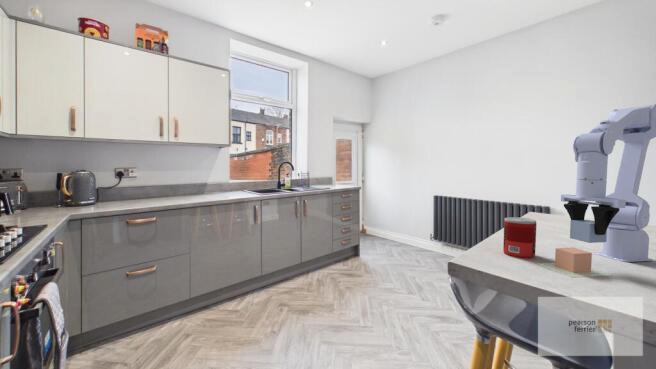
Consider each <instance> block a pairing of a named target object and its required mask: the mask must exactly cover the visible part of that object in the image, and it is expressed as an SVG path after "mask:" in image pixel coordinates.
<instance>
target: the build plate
mask: <svg viewBox="0 0 656 369" xmlns="http://www.w3.org/2000/svg"><path fill="white" fill-rule="evenodd" d="M536 264H537V265H539V266H541V267H544V268H547V269H549V270H552V271H554V272H557V273H560V274H563V275H565V276H568V277H570V278H586V277H587V278H590V277H605V276H612V274H611V273H607V272H606V271H605V272H604V271H603V270H602V271H601V270H598V269H596V268H593V267H591V272H581V273H572V272H569V271H567V270H564V269H561V268H559V267H556V266H555V262H541V263H540V262H539V263H536Z"/></svg>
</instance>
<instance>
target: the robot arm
mask: <svg viewBox="0 0 656 369" xmlns="http://www.w3.org/2000/svg"><path fill="white" fill-rule="evenodd" d="M655 138H656V103H652V104H649V105H643V106H642V105H641V106H635V107H627V108H620V109H617V108H615V109H613V110H611V111H610V113H609V115H608V119H607V120H601V121H600V122H599V123H598V124H597V125H596V126H595V127H593V128H592V129H591V130H590V131H589V132H587V133H581V134H579V135H577V136H576V137H575V139H574V140H573V144H572V146H573V147H572V148H573V153H574V160H575V162H576V163H577V164H576V165H577V167H576V182H575V183H576V186H575V187H576V188H575V194H564V193H563V194H560V202H566V203H563V207H564V208H565V210H566V211H567V214H568V216H569V218H570V221H571V220H585V216H586V212H587V210H588V208H589V205H593V206H590V209H591V211H592V214H593V215H592V216H593V219H594V220H593V221H595V226H594V230H595V235H605V233H606V230H607V240H606V242H602V251H601V252H600V251H598V252H597V251H594V252H593V255H597V256H600V257H604V258H608V259H610V260H615V261H618V262H623V263H632V262H633V263H635V262H651V261H653V259H652V258H649V248H650V247H649V246H650V245H649V244H650V238H649V234H648V233H647V232H646V230H644V229H645V228H647V226H648V224H649V223H650V208H651V207H650V204H649V202H648V201H647V200H646V199H644V198H642V197H641V196H640V195H638V194H639V190H640V185H641V179H642V175H643V171H644V166H645V160H646V156H647V150H648V148H649V145H650V142H651V140H653V139H655ZM616 141H620V142H623V149H622V153H621V157H620V158H621V159H620V162H619V168H618V172H617V177H616V182H615V185H614V189H613V192H611V193H610V194H607V179H608V162H609V155H611V154H612V153H613V151H614V147H615V146H616Z"/></svg>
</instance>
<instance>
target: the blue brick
mask: <svg viewBox="0 0 656 369" xmlns="http://www.w3.org/2000/svg"><path fill="white" fill-rule="evenodd" d="M594 226H595V221H594V220H589V219H584V220H571V219H570V226H569V227H570V228H569V239H572V240H577V241H579V242H584V243H588V244H592V243H595V244H597V243H599V244H600V243H603V242H606V240H607V230H606V233H605V235H595V230H594Z"/></svg>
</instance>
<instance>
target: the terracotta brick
mask: <svg viewBox="0 0 656 369" xmlns="http://www.w3.org/2000/svg"><path fill="white" fill-rule="evenodd" d="M592 256H593V252H590V251H587V250H583V249H580V248H576V247H556V248H555V256H554V259H555V260H554V263H555V266H556V267H559V268H561V269H564V270H567V271H569V272H572V273H581V272H591V268H592V259H593V257H592Z"/></svg>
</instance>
